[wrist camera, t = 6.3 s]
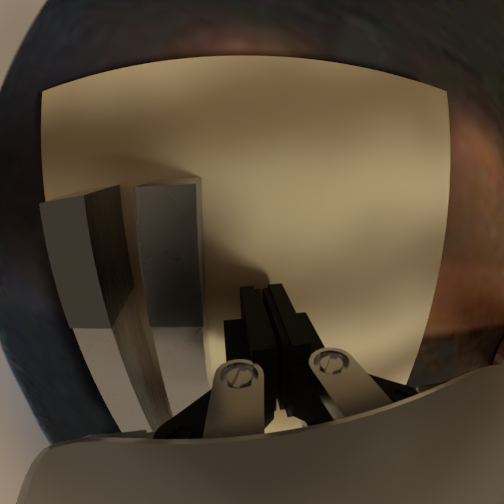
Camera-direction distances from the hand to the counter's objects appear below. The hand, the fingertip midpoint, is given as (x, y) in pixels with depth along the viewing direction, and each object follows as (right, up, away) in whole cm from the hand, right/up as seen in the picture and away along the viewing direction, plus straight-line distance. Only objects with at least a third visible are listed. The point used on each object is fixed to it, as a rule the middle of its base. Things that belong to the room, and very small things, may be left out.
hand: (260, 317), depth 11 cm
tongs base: (-4, -4, +1) cm, 6 cm away
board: (+1, -4, +3) cm, 5 cm away
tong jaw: (-3, -2, 0) cm, 4 cm away
